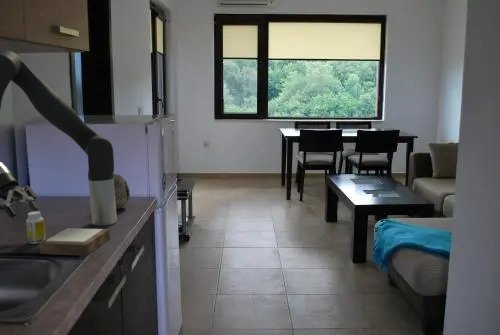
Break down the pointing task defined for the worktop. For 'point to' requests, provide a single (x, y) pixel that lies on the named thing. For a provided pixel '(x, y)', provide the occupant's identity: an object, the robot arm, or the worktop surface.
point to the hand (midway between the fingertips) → (25, 213)
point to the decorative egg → (121, 191)
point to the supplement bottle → (35, 228)
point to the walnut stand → (74, 241)
